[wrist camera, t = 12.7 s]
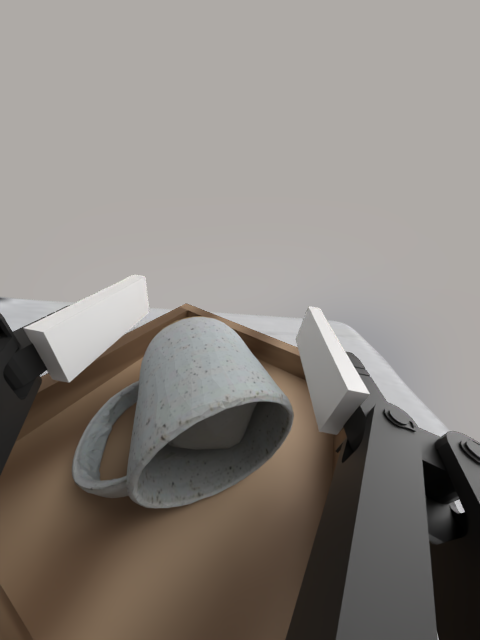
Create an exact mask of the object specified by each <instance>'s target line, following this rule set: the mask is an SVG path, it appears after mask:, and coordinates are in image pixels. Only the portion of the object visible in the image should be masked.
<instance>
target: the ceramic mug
mask: <svg viewBox="0 0 480 640" xmlns="http://www.w3.org/2000/svg"><path fill="white" fill-rule="evenodd" d="M136 402H137V404H136V411H135V417H134V424H133V431H132V438H131V445H130V451H129V458H128V466H127V475H126V476H124V477H121V478H118V479H111V480H103V481H101V480H100V472H99V468H100V463H101V459H102V456H103V452H104V449H105V446H106V442H107V439H108V436H109V434H110V432H111V430H112V426H113V425H114V423H115V422H116V420H117V419H118V418H119V417H120V416H121V415H122V414H123V413H124V412H125V411H126V410H127V409H128V408H129V407H131V406H132V405H133V404H135V403H136ZM293 418H294V412H293V409H292V406H291V403H290V401H289V399H288V398H287V396H286V395H285V394H284V393H283V391H282V390H281V389H280V388H279V387H278V385H277V384H276V383H275V382H274V380H273V379H272V378H271V376H270V375H269V374H268V372H267V371H266V370H265V369H264V367H263V366H262V365H261V363H260V362H259V361H258V360H257V358H256V357H255V356H254V355H253V354H252V352H251V351H250V350H249V348H248V347H247V345H246V344H245V343H244V341H243V340H242V339H241V337H240V336H239V335H238V334H237V333H236V332H235V331H234V330H233V329H232V328H230V327H229V326H227V325H226V324H225V323H223V322H221V321H219V320H217V319H214V318H211V317H203V316H195V317H187V318H183V319H180V320H177V321H175V322H173V323H171V324H170V325H168V326H166V327H164V328H163V329H162V330H161V331H160V332H159V333H158V334H157V335H156V336H155V337H154V338H153V339H152V341H151V342H150V344H149V346H148V348H147V350H146V352H145V355H144V357H143V360H142V363H141V369H140V377H139V381H137V382H135V383H133V384H131V385H129V386H128V387H126V388H124V389H122V390H121V391H120V392H118V393H117V394H116V395H114V396H113V397H111V398H110V399H109V400H108V401H107V402H106V403H105V404H104V405H103V406H102V407H101V408H100V410H99V411H98V412H97V413H96V414H95V416H94V417H93V418H92V420H91V421H90V423H89V424H88V426H87V427H86V429H85V431H84V433H83V435H82V437H81V439H80V441H79V443H78V446H77V448H76V451H75V454H74V458H73V463H72V477H73V479H74V481H75V483H76V484H77V485H78V486H79V487H80V488H81V489H82V490H84V491H86V492H87V493H92V494H95V495H98V496H102V497H106V498H120V497H125V496H129V497H130V499H131V500H132V501H134V502H135V503H137V504H139V505H141V506H143V507H145V508H154V509H156V508H171V507H179V506H183V505H188V504H192V503H194V502H196V501H198V500H201V499H203V498H206V497H210V496H213V495H215V494H217V493H219V492H221V491H223V490H225V489H227V488H229V487H231V486H233V485H235V484H237V483H238V482H239V481H241V480H243V479H245V478H246V477H247V476H249V475H250V474H251V473H253V472H254V471H256V470H257V469H259V468H260V467H261V466H262V465H263V464H264V463H265V462H267V461H268V460H269V459H270V458H272V456H273V455H274V453H275V452H276V451H277V450H278V449H279V448H280V447H281V445H282V444H283V442H284V441H285V439H286V438H287V436H288V434H289V432H290V431H291V427H292V424H293Z"/></svg>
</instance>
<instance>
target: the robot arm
mask: <svg viewBox="0 0 480 640" xmlns="http://www.w3.org/2000/svg"><path fill="white" fill-rule="evenodd" d="M149 312H150V311H149V303H148V295H147V288H146V280H145V277H144V276H139V275H132V276H130V277H128V278H126V279H124V280H122V281H120V282H118V283H116V284H114V285H111V286H109V287H107V288H105V289H103V290H101V291H99V292H97V293H95V294H93V295H91V296H89V297H87V298H84V299H82V300H81V301H78V302H76V303H74V304H72V305H69V306H66V307H64V308H62V309H60V310H58V311H56V312H53V313H51V314H49V315H47V317H43V318H41V319H39V320H37V321H35V322H33V323H30V324H28V325H26V326H24V327H22V328H20V329H18V330H16V331H14V332H12V330H11V329H10V327H9V325H8V324H7V322H6V321H5V319H4V317H3V316H2V315H1V314H0V475H1V473H2V471H3V469H4V466H5V464H6V462H7V460H8V457H9V455H10V453H11V451H12V448H13V446H14V444H15V442H16V439H17V437H18V435H19V433H20V431H21V428H22V426H23V424H24V422H25V419H26V417H27V415H28V413H29V410H30V408H31V406H32V404H33V401H34V399H35V397H36V395H37V392H38V390H39V388H40V386H41V383H42V379H41V377H40V376H39V375H40V374H42V373H43V372H45V371H46V370H47V371H48V373H49V374H50V376H51V378H52V379H53V380H58V381H63V382H68V383H69V382H71V381H72V380H73V379H74V378H75V377H76V376H77V375H79V374H80V373H81V372H82V371H83V370H84V369H85V368H86V367H88V366H89V365H90V364H91V363H92V362H93V361H94V360H96V359H97V358H98V357H99V356H100V355H101V354H102V353H104V352H105V351H106V350H107V349H108V348H109V347H110V346H112V345H113V344H114V343H115V342H116V341H117V340H118V339H120V338H121V337H122V336H123V335H124V334H125V333H126V332H127V331H129V330H130V329H131V328H132V327H133V326H134V325H135V324H137V323H138V322H139V321H140V320H141V319H142V318H143V317H145V316H146V315H147V314H148V313H149ZM296 342H297V346H298V350H299V354H300V358H301V362H302V366H303V370H304V374H305V378H306V381H307V385H308V389H309V393H310V397H311V401H312V405H313V409H314V413H315V417H316V421H317V425H318V429H319V432H325V433H330V434H335V435H337V434H338V433H339V432H340V431H341V429H342V428H344V430H345V433H346V436H347V437H346V438H345V440H344V441H343V442H342V443H341V444H340V445H339V446H338V448H337V449H336V452H337V453H338V452H339V451H340V450H341V451H340V454H339V457H338V461H337V464H336V468H335V471H334V475H333V478H332V481H331V485H330V488H329V492H328V495H327V499H326V502H325V505H324V509H323V512H322V516H321V519H320V523H319V526H318V529H317V533H316V536H315V540H314V543H313V547H312V550H311V553H310V557H309V560H308V564H307V567H306V571H305V574H304V577H303V581H302V584H301V588H300V591H299V595H298V598H297V601H296V605H295V608H294V612H293V615H292V619H291V622H290V625H289V629H288V632H287V636H286V639H285V640H438V639H437V633H438V637H439V640H480V443H479V442H477V441H475V440H474V439H472V438H471V437H469V436H467V435H465V434H463V433H459V432H456V431H449V432H447V433H446V434H444V435H443V436H442V437H439V436H437V435H435V434H432V433H430V432H428V431H426V430H423V429H421V428H419V427H418V426H417V424H416V423H415V422H414V420H413V419H412V418H411V417H410V416H409V415H408V414H407V413H406V412H405V411H403V410H402V409H400V408H399V407H397V406H395V405H393V404H391V403H388V402H387V401H386V399H385V398H384V396H383V395H382V393H381V392H380V390H379V389H378V387H377V386H376V384H375V383H374V381H373V379H372V378H371V377H370V375H369V373H368V372H367V370H365V367H364V366H363V364H362V363H361V361H360V360H359V359H358V358H357V357H356V356H355V355H354V354H352V353H350V352H345V350H344V349H343V347H342V345H341V343H340V342H339V340H338V338H337V337H336V335H335V333H334V332H333V330H332V328H331V326H330V325H329V323H328V321H327V320H326V318H325V316H324V314H323V313H322V311H321V309H320V308H316V307H310V306H309V307H308V309H307V311H306V314H305V316H304V319H303V322H302V324H301V327H300V329H299V332H298V335H297V337H296ZM458 499H460V501H461V504H462V506H463V508H464V511H465V512H464V513H459V511H458V509H457V508H456V505H455V503H454V501H456V500H458Z"/></svg>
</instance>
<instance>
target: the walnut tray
mask: <svg viewBox="0 0 480 640" xmlns="http://www.w3.org/2000/svg"><path fill="white" fill-rule="evenodd" d="M195 316H203V317H211V318H214V319H217V320H219V321H221V322H223V323H225V324H226V325H227V326H229V327H230V328H232V329H233V330H234V331H235V332H236V333H237V334H238V335H239V336H240V337H241V339H242V340H243V341H244V343H245V344H246V345H247V347H248V348H249V350H250V351H251V352H252V354H253V355H254V356H255V357H256V358H257V360H258V361H259V362H260V363H261V365H262V366H263V367H264V369H265V370H266V371H267V372H268V374H269V375H270V376H271V378H272V379H273V380H274V382H275V383H276V384H277V385H278V387H279V388H280V389H281V390H282V391H283V393H284V394H285V395H286V396H287V398H288V399H289V401H290V403H291V406H292V409H293V412H294V418H293V424H292V427H291V431H290V432H289V434H288V436H287V438H286V439H285V441H284V442H283V444H282V445H281V447H280V448H279V449H278V450H277V451H276V452H275V453H274V455H273V456H272V458H270V459H269V460H268V461H267V462H265V463H264V464H263V465H262V466H261V467H260V468H259V469H257V470H256V471H254V472H253V473H251V474H250V475H249V476H247V477H246V478H245V479H243V480H241V481H239V482H238V483H237V484H235V485H233V486H231V487H229V488H227V489H225V490H223V491H221V492H219V493H217V494H215V495H213V496H210V497H206V498H203V499H201V500H198V501H196V502H194V503H192V504H188V505H183V506H179V507H171V508H156V509H154V508H145V507H143V506H141V505H139V504H137V503H135V502H134V501H132V500H131V499H130V497H129V496H125V497H120V498H106V497H102V496H98V495H95V494H92V493H87V492H86V491H84V490H82V489H81V488H80V487H79V486H78V485H77V484H76V483H75V481H74V479H73V477H72V463H73V458H74V454H75V451H76V448H77V446H78V443H79V441H80V439H81V437H82V435H83V433H84V431H85V429H86V427H87V426H88V424H89V423H90V421H91V420H92V418H93V417H94V416H95V414H96V413H97V412H98V411H99V410H100V408H101V407H102V406H103V405H104V404H105V403H106V402H107V401H108V400H109V399H110V398H111V397H113V396H114V395H116V394H117V393H118V392H120V391H121V390H122V389H124V388H126V387H128V386H129V385H131V384H133V383H135V382H137V381H139V377H140V369H141V363H142V360H143V357H144V355H145V352H146V350H147V348H148V346H149V344H150V342H151V341H152V339H153V338H154V337H155V336H156V335H157V334H158V333H159V332H160V331H161V330H162V329H163V328H164V327H166V326H168V325H170V324H171V323H173V322H175V321H177V320H180V319H183V318H187V317H195ZM41 379H42V383H41V386H40V388H39V390H38V392H37V395H36V397H35V399H34V401H33V404H32V406H31V408H30V410H29V413H28V415H27V417H26V419H25V422H24V424H23V426H22V428H21V431H20V433H19V435H18V437H17V439H16V442H15V444H14V446H13V448H12V451H11V453H10V455H9V457H8V460H7V462H6V464H5V466H4V469H3V471H2V473H1V475H0V640H285V639H286V636H287V632H288V629H289V625H290V622H291V619H292V615H293V612H294V608H295V605H296V601H297V598H298V595H299V591H300V588H301V584H302V581H303V577H304V574H305V571H306V567H307V564H308V560H309V557H310V553H311V550H312V547H313V543H314V540H315V536H316V533H317V529H318V526H319V523H320V519H321V516H322V512H323V509H324V505H325V502H326V499H327V495H328V492H329V488H330V485H331V481H332V478H333V475H334V471H335V468H336V464H337V461H338V457H339V454H340V451H341V450H340V451H339V452H338V453H337V452H336V449H337V448H338V446H339V445H340V444H341V443H342V442H343V441H344V440H345V438H346V437H347V436H346V433H345V430H344V428H342V429H341V431H340V432H339V433H338V434H337V435H335V434H330V433H325V432H319V429H318V425H317V421H316V417H315V413H314V409H313V405H312V401H311V397H310V393H309V389H308V385H307V381H306V378H305V374H304V370H303V366H302V362H301V358H300V354H299V350H298V347H295V346H292V345H290V344H287V343H285V342H282V341H280V340H277V339H275V338H272V337H270V336H267V335H265V334H262V333H260V332H257V331H255V330H252V329H250V328H247V327H245V326H242V325H240V324H237V323H234V322H232V321H229V320H227V319H224V318H222V317H219V316H217V315H214V314H212V313H209V312H207V311H204V310H202V309H199V308H197V307H194V306H192V305H189V304H184V305H182V306H180V307H178V308H176V309H174V310H172V311H170V312H168V313H166V314H164V315H162V316H160V317H158V318H156V319H154V320H152V321H150V322H149V323H147V324H145V325H143V326H141V327H139V328H137V329H135V330H133V331H131V332H129V333H127V334H125V335H123V336H122V337H121V338H120V339H118V340H117V341H116V342H115V343H114V344H113V345H112V346H110V347H109V348H108V349H107V350H106V351H105V352H104V353H102V354H101V355H100V356H99V357H98V358H97V359H96V360H94V361H93V362H92V363H91V364H90V365H89V366H88V367H86V368H85V369H84V370H83V371H82V372H81V373H80V374H79V375H77V376H76V377H75V378H74V379H73V380H72V381H71V382H69V383H68V382H63V381H58V380H53V379H52V378H51V376H50V374H49V373H48V374H46V375H44V376H42V377H41ZM136 404H137V402H136V403H135V404H133V405H132V406H131V407H129V408H128V409H127V410H126V411H125V412H124V413H123V414H122V415H121V416H120V417H119V418H118V419H117V420H116V422H115V423H114V425H113V426H112V430H111V432H110V434H109V436H108V439H107V442H106V446H105V449H104V452H103V456H102V459H101V463H100V468H99V472H100V480H101V481H103V480H111V479H118V478H121V477H124V476H126V475H127V466H128V458H129V451H130V445H131V438H132V431H133V424H134V417H135V411H136Z"/></svg>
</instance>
